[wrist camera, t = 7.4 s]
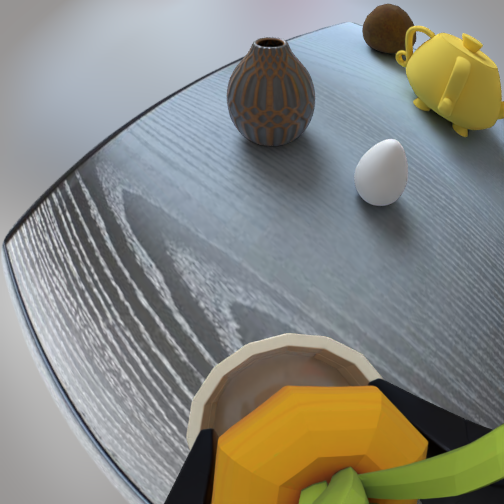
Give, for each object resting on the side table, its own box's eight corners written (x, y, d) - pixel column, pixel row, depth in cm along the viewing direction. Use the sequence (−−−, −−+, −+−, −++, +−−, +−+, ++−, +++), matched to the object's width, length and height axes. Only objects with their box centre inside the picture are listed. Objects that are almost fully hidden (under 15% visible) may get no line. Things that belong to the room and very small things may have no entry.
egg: (402, 211, 19) (431, 163, 15) (358, 215, 19) (381, 162, 15) (386, 173, 21) (407, 123, 16) (344, 175, 21) (359, 121, 16)
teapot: (509, 157, 23) (548, 94, 13) (434, 146, 23) (474, 55, 13) (456, 88, 29) (477, 30, 19) (381, 72, 29) (397, 1, 19)
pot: (270, 516, 11) (270, 547, 7) (175, 404, 15) (149, 408, 11) (394, 424, 13) (427, 431, 10) (302, 314, 17) (311, 294, 13)
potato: (420, 54, 34) (430, 14, 26) (400, 69, 30) (413, 18, 22) (377, 35, 36) (384, -4, 28) (349, 47, 33) (355, -2, 25)
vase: (306, 110, 25) (313, 29, 17) (315, 159, 22) (329, 64, 14) (234, 110, 25) (225, 29, 17) (228, 159, 22) (213, 64, 14)
